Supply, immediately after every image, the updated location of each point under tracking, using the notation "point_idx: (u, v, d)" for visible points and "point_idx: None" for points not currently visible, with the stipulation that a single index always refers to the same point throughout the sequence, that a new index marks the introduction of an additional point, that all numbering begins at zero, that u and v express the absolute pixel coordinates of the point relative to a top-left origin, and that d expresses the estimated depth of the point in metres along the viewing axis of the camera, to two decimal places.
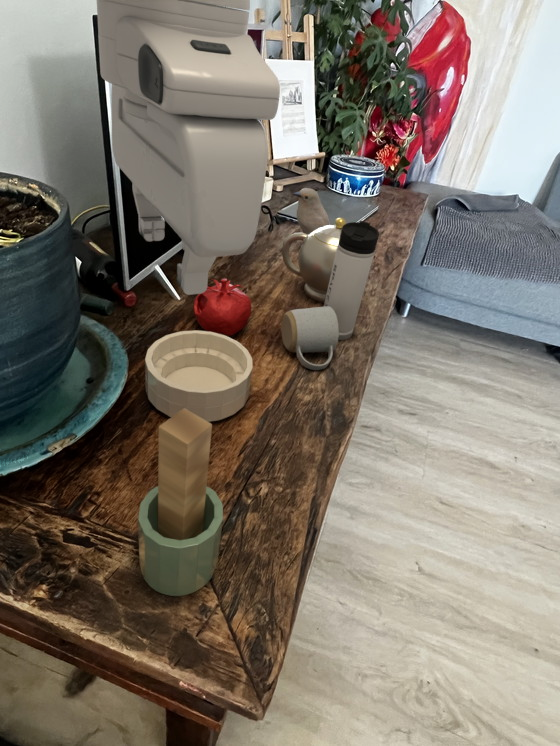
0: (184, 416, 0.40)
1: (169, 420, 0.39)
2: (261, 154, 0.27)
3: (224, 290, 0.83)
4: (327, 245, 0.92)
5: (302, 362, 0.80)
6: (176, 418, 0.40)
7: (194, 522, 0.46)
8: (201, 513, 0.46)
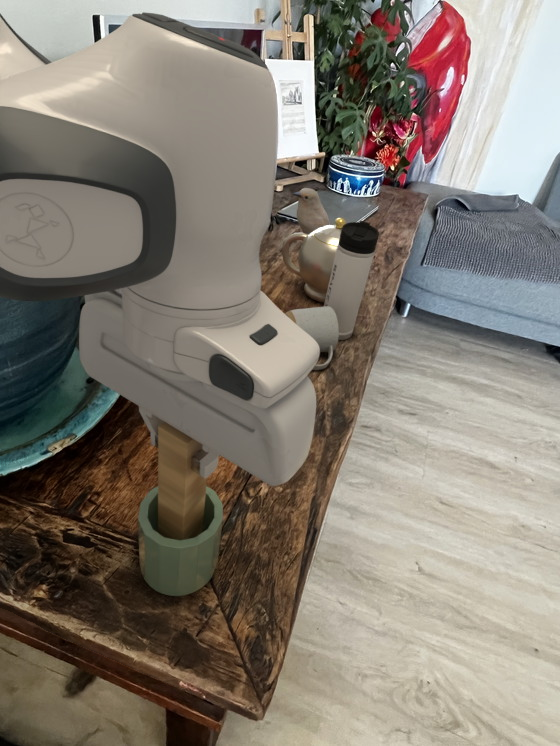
0: None
1: None
2: (314, 399, 0.33)
3: None
4: (327, 245, 0.92)
5: None
6: None
7: (194, 522, 0.46)
8: (201, 513, 0.46)
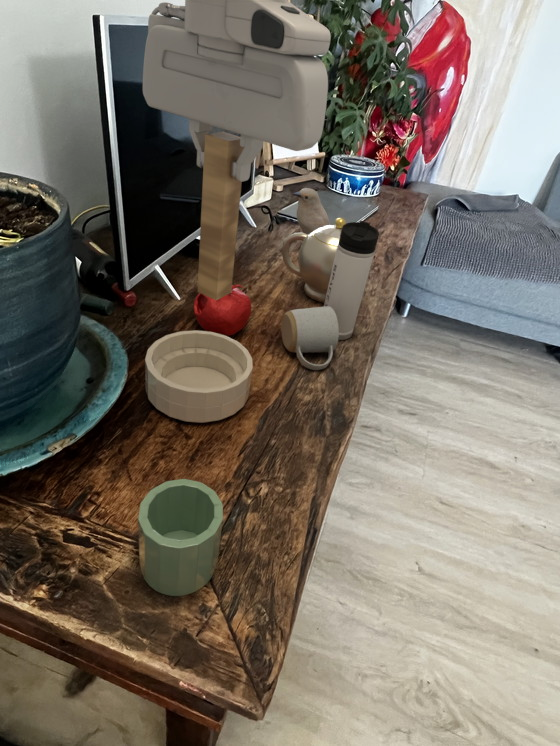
0: (223, 133, 0.51)
1: (212, 133, 0.51)
2: (326, 77, 0.45)
3: None
4: (327, 245, 0.92)
5: (302, 362, 0.80)
6: (218, 133, 0.51)
7: (229, 245, 0.57)
8: (233, 240, 0.57)
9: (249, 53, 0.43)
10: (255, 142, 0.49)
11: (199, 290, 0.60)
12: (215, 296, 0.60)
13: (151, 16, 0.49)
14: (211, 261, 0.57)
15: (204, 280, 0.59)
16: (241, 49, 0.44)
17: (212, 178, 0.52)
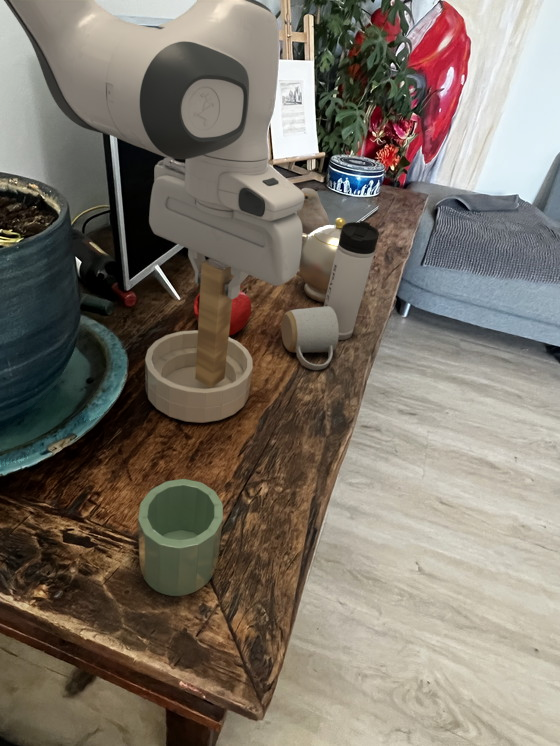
0: None
1: (208, 259, 0.61)
2: (301, 229, 0.54)
3: None
4: (327, 245, 0.92)
5: (302, 362, 0.80)
6: (212, 259, 0.61)
7: (222, 344, 0.67)
8: (226, 339, 0.67)
9: (237, 214, 0.52)
10: (243, 272, 0.58)
11: (197, 378, 0.70)
12: (210, 384, 0.69)
13: (157, 166, 0.58)
14: (207, 357, 0.67)
15: (201, 371, 0.69)
16: None
17: (208, 295, 0.62)
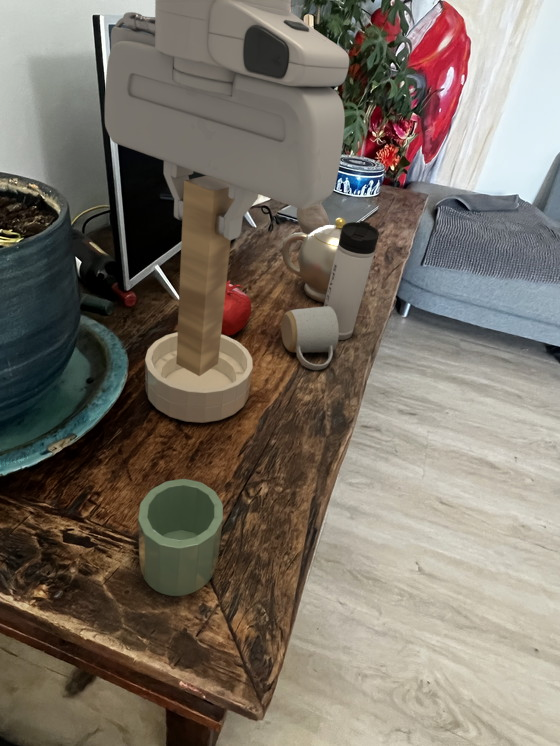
0: (208, 178, 0.40)
1: (194, 178, 0.40)
2: (343, 115, 0.34)
3: None
4: (327, 245, 0.92)
5: (302, 362, 0.80)
6: (201, 178, 0.40)
7: (215, 312, 0.46)
8: (221, 305, 0.46)
9: (241, 82, 0.32)
10: (248, 193, 0.38)
11: (178, 362, 0.49)
12: (198, 371, 0.48)
13: (114, 29, 0.38)
14: (193, 331, 0.46)
15: (184, 352, 0.48)
16: (230, 76, 0.33)
17: (193, 234, 0.41)
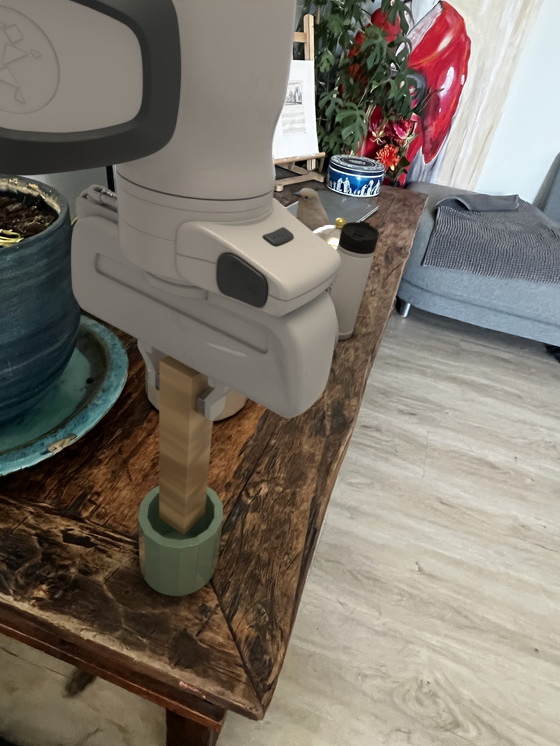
0: None
1: None
2: (334, 318, 0.29)
3: None
4: None
5: None
6: None
7: (199, 475, 0.42)
8: (205, 466, 0.42)
9: (215, 298, 0.27)
10: None
11: (161, 517, 0.45)
12: (182, 530, 0.44)
13: (79, 200, 0.34)
14: (175, 495, 0.42)
15: (167, 510, 0.44)
16: None
17: (172, 411, 0.37)
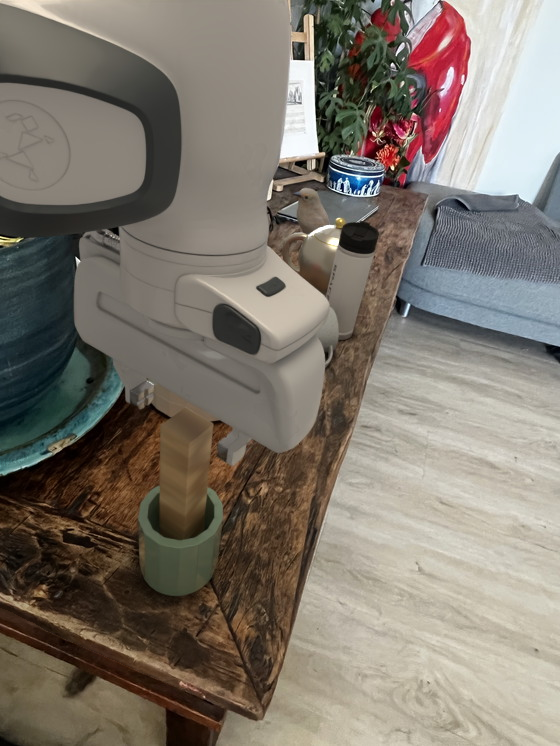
0: (185, 415, 0.40)
1: (170, 419, 0.40)
2: (323, 360, 0.31)
3: None
4: (327, 245, 0.92)
5: None
6: (178, 417, 0.40)
7: (196, 521, 0.46)
8: (202, 512, 0.46)
9: (211, 342, 0.29)
10: None
11: None
12: None
13: (82, 240, 0.35)
14: None
15: None
16: None
17: (171, 468, 0.41)
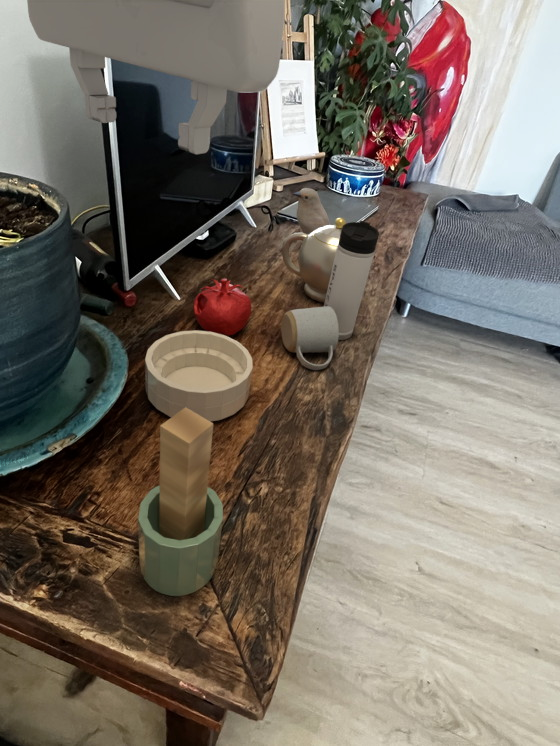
0: (185, 415, 0.40)
1: (170, 419, 0.40)
2: None
3: (224, 290, 0.83)
4: (327, 245, 0.92)
5: (302, 362, 0.80)
6: (178, 417, 0.40)
7: (196, 521, 0.46)
8: (202, 512, 0.46)
9: None
10: (213, 93, 0.33)
11: None
12: None
13: None
14: None
15: None
16: None
17: (171, 468, 0.41)
